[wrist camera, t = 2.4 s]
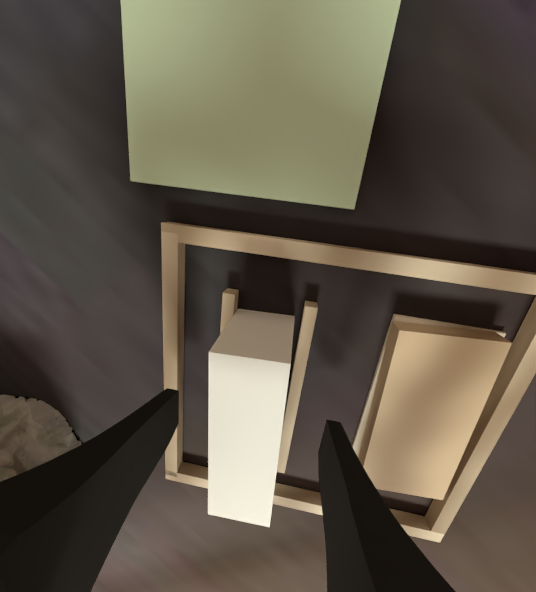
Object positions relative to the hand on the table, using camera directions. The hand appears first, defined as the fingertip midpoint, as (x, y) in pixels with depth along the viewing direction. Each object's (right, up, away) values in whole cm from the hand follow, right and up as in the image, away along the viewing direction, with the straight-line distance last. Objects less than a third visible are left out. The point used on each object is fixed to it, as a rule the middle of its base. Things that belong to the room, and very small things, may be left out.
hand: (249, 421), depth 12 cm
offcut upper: (+9, 0, +1) cm, 9 cm away
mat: (0, +15, -2) cm, 15 cm away
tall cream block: (0, +1, +3) cm, 3 cm away
